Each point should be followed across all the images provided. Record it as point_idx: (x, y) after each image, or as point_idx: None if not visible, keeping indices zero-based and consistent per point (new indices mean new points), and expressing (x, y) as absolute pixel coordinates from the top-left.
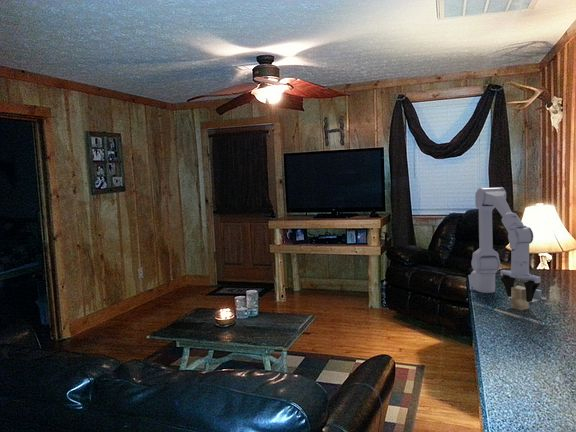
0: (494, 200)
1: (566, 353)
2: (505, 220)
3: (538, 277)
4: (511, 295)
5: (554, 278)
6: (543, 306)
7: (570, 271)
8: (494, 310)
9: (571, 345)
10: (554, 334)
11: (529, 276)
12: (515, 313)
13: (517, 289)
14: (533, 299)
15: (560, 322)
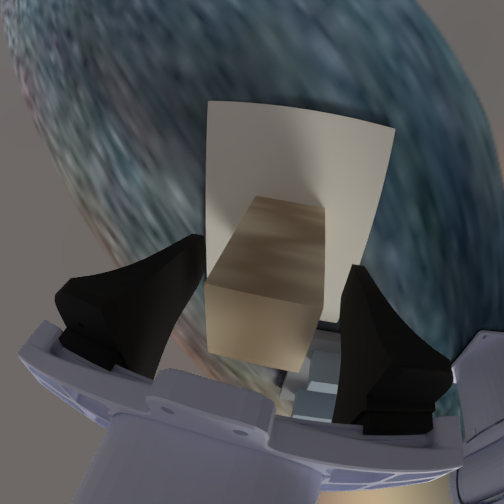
0: None
1: (5, 9)
2: None
3: (28, 368)
4: (322, 257)
5: None
6: None
7: None
8: (390, 127)
9: (9, 51)
10: (46, 70)
11: (59, 384)
12: (258, 143)
13: (249, 288)
14: (307, 375)
15: (100, 202)
